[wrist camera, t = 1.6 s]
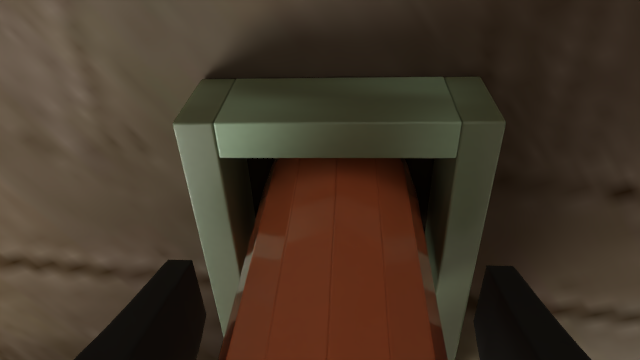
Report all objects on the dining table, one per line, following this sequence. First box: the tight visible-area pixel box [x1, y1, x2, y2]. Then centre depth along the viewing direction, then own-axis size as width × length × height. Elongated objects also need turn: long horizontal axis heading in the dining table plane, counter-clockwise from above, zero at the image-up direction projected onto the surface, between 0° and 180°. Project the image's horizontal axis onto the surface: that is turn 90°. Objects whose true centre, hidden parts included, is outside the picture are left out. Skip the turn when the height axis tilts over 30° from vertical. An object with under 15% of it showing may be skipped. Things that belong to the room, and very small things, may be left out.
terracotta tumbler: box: [218, 158, 448, 360], centre depth 12 cm, size 5×5×9 cm
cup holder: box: [173, 77, 506, 360], centre depth 16 cm, size 8×15×3 cm, turn 2°
